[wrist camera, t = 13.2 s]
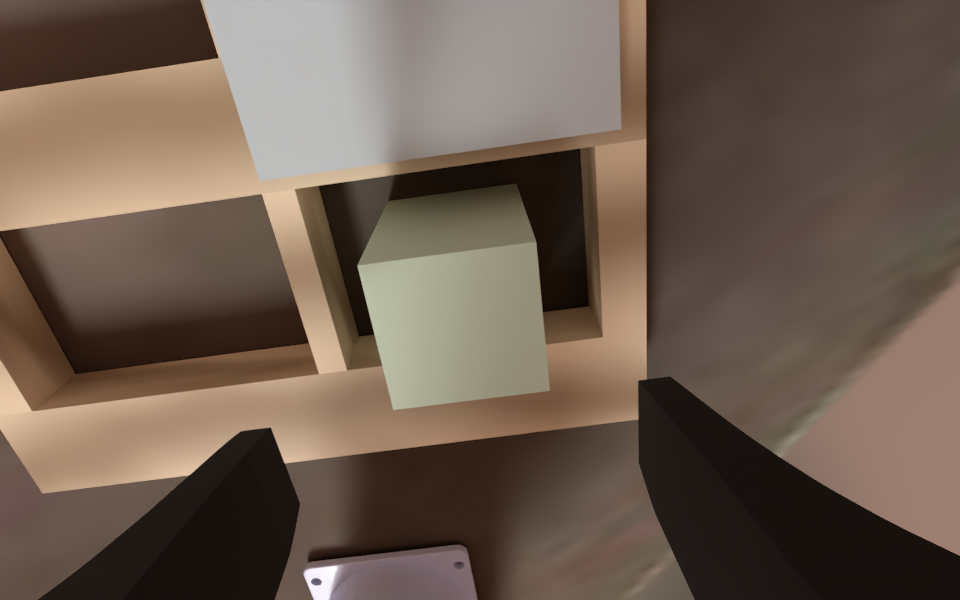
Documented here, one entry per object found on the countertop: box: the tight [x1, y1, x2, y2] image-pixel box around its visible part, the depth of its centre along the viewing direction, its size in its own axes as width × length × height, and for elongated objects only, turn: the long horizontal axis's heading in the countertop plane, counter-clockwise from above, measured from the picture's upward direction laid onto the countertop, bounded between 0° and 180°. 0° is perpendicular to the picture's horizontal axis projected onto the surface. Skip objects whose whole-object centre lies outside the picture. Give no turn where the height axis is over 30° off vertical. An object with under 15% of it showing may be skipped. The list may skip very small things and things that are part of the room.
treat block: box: [357, 184, 550, 410], centre depth 17 cm, size 4×4×6 cm
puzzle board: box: [0, 0, 647, 493], centre depth 18 cm, size 18×24×2 cm
